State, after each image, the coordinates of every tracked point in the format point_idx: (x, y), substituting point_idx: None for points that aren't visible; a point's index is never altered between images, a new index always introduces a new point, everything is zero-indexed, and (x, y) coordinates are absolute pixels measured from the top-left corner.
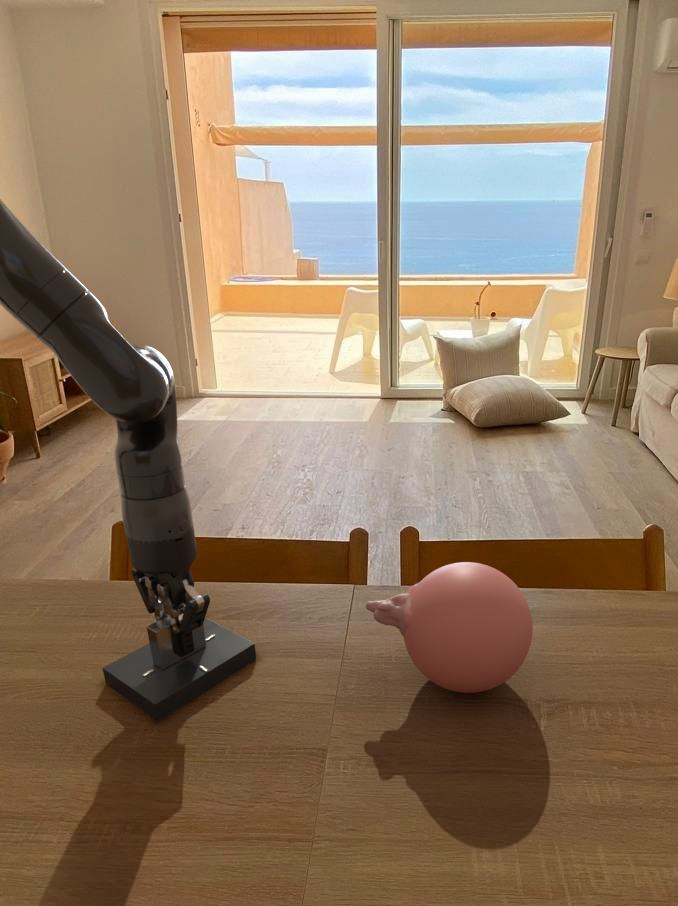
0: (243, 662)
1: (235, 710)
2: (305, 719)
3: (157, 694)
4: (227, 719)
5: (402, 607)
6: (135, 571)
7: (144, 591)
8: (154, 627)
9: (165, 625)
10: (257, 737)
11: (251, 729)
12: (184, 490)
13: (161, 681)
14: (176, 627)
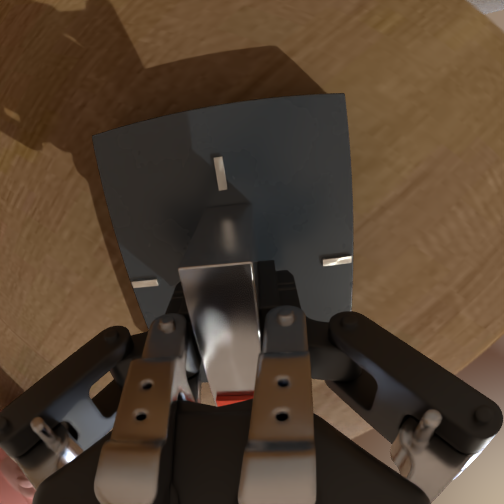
0: None
1: (68, 260)
2: (20, 314)
3: (121, 154)
4: (54, 238)
5: (15, 482)
6: (475, 440)
7: (393, 380)
8: (218, 282)
9: (203, 316)
10: (9, 250)
11: (24, 253)
12: None
13: (162, 184)
14: (151, 334)
